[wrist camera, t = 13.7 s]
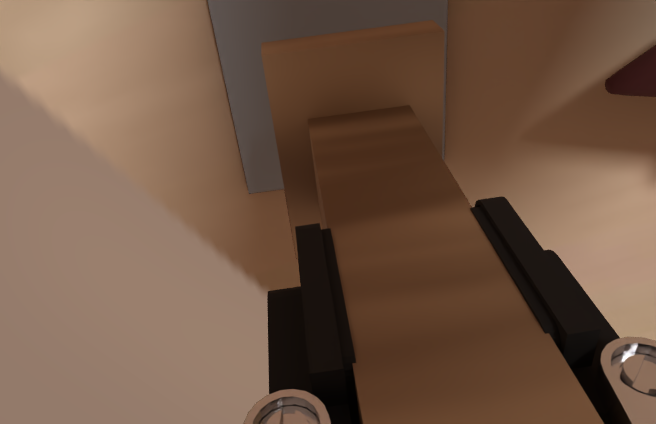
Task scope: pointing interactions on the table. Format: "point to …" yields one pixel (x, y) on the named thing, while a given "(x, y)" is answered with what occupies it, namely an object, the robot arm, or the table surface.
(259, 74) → the mat
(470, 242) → the wooden post with base
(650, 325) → the table surface
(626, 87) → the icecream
